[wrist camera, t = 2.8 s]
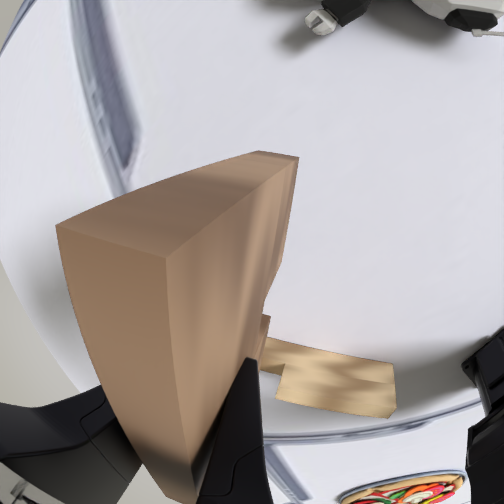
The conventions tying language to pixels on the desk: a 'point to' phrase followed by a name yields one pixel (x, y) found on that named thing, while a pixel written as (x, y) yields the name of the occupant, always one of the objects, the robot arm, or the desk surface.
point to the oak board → (330, 379)
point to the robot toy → (433, 3)
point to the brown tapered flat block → (179, 301)
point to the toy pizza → (409, 489)
